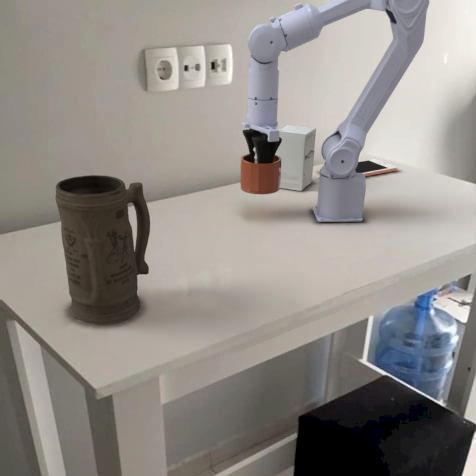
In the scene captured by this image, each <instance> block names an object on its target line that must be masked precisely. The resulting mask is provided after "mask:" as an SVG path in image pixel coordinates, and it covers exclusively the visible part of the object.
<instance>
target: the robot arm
mask: <svg viewBox="0 0 476 476" xmlns="http://www.w3.org/2000/svg"><path fill="white" fill-rule="evenodd" d="M429 5H430V0H330V1H328V2H325V3H324V4H321V5H320V6H318V7H317V6H315V5H312V4H311V3H308V2H307V3H305V4H303V3H302V2H298V3H296V4H294V5H293V7H294V9H292V10H290V11H288V12H286V13H284V14H282V15H280V16H277V17H275V16H274V15H272V16H271V17H269V18H268V20H269V23H260V24H257V25H255V27H254V28H252V30H251V31H250V33H249V36H248V40H247V46H248V47H247V48H248V50H249V51H250V55H249V59H248V67H249V69H248V70H247V71H248V74H247V77H248V78H247V113H246V115H245V117H246V118H245V119H246V120H245V121H241V127H242V128H245V129H243V130H242V135H243V136H244V139H245V141H246V144H247V149H248V154H250V160H251V163H255V158H254V157H255V152H254V150H253V149H254V147H255V149H256V153H257V162H258V163H273V160H274V157H275V154H276V151H277V149H278V147H279V146H280V144H281V142H282V138H280V137H279V130H280V129H279V122H278V106H279V105H278V104H279V77H280V71H279V57H280V55H281V53H282V52H284V53H287V52H289V51H292V50H294V49H297V48H298V47H300V46H303V45H305V44H307V43H309V42H312V41H314V40H317V39H319V37H320V35H321V32H322V30H323V28H324V27H326V26H328V25H331V24H333V23H335V22H337V21H340V20H343V19H345V18H348V17H351V16H352V15H355V14H358V13H360V12H362V11H365V10H372V11H373V10H374V11H379V12H385V13H386V16H387V17H388V19H389V23H390V29H391V34H392V40H391V42H390V44H389V45H388V47H387V49H386V51H385V52H384V54H383V56H382V57H381V59H380V61H379V62H378V64H377V66H376V68H375V69H374V71H372V74H371V75H370V77H369V79H368V81H367V82H366V84H365V86H364V88H363V89H362V91H361V93H360V94H359V96H358V98H357V99H356V101H355V103H354V105H353V106H352V108H351V109H350V111H349V112H348V115H346V117H345V119H344V120H343V121H342V122H341V123H340V124H338V125H337V127H336V129H335V130H334V132H333V133H332V134H330V135H328V136H327V137H326V138H325V139H324V140H323V142H322V144H321V150H320V152H321V157H322V159H323V160H324V163H323V165H322V166H321V168H319V177H318V179H319V180H318V190H317V191H318V192H317V204H316V206H313V207H312V208H311V209H312V210H311V211H312V212H313V215H314V217H315V219H316V221H317V222H318V223H347V222H348V223H350V222H351V223H355V222H356V223H357V222H360V223H361V222H363V220H364V218H363V215H364V214H363V213H364V208H365V207H364V206H365V198H366V190H367V189H366V188H367V179H366V176H365V175H364V174H363V173H356V171H355V169H356V167H357V165H358V162H359V159H360V154H361V152H362V151H363V149H364V147H365V143H366V139H367V135H368V133H369V131H370V130H371V128H372V127H373V125H374V123H375V122H376V120H377V118H378V117H379V115H380V114H381V112H382V110H383V109H384V108H385V106H386V104H387V102H388V101H389V100H390V97H391V96H392V94H393V93H394V91H395V90H396V88H397V86H398V85H399V83H400V81H401V80H402V79H403V76H405V73H406V72H407V71H408V68H409V67H410V66H411V64H412V62H413V61H414V59H415V57H416V56H417V54H418V52H419V51H420V49H421V48H422V45H423V44H424V40H425V32H426V21H427V13H428V9H429Z"/></svg>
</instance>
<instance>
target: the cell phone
mask: <svg viewBox="0 0 476 476" xmlns="http://www.w3.org/2000/svg"><path fill="white" fill-rule="evenodd" d="M355 171H356V173H363V174H364V175H365V177H370V176H375V175H379V174H385V173H386V174H387V173H391V172H397V171H398V167H397V166H395V165H393V164H390V163H388V162H386V161H382V160H379V159H377V158H372V159H366V160H358V165H357V167H356V169H355Z"/></svg>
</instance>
